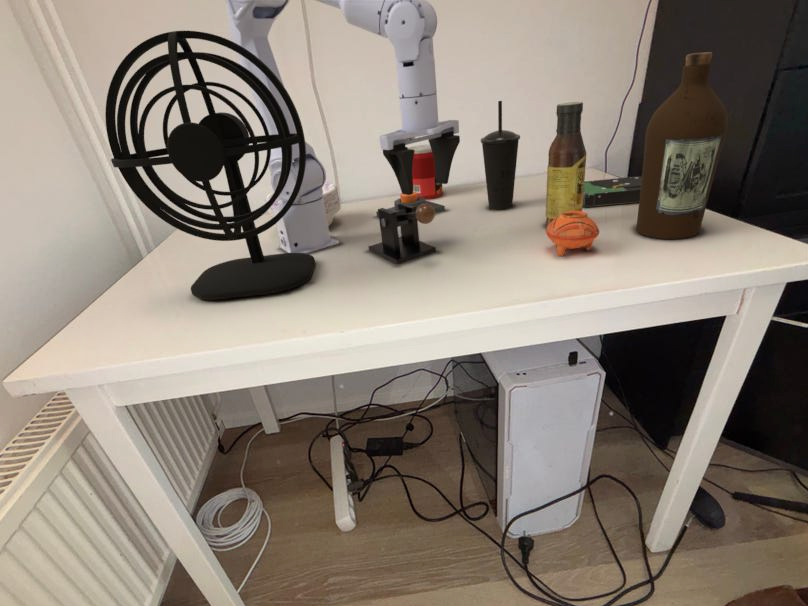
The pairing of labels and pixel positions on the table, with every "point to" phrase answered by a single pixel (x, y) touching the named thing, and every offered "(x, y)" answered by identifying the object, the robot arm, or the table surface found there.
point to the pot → (572, 231)
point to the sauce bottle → (566, 163)
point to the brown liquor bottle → (682, 155)
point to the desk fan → (211, 162)
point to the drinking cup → (500, 165)
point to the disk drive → (612, 191)
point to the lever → (416, 215)
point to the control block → (417, 205)
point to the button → (409, 198)
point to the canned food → (425, 173)
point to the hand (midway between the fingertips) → (425, 188)
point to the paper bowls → (329, 200)
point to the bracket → (399, 238)
